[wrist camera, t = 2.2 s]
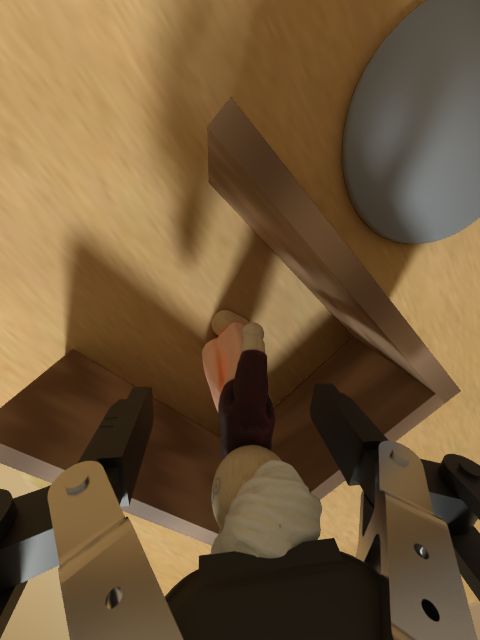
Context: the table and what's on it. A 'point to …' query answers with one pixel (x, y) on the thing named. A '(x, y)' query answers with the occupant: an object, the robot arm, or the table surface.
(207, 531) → the u-shaped walnut enclosure
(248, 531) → the grandmother figurine
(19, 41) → the table surface
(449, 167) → the pad
